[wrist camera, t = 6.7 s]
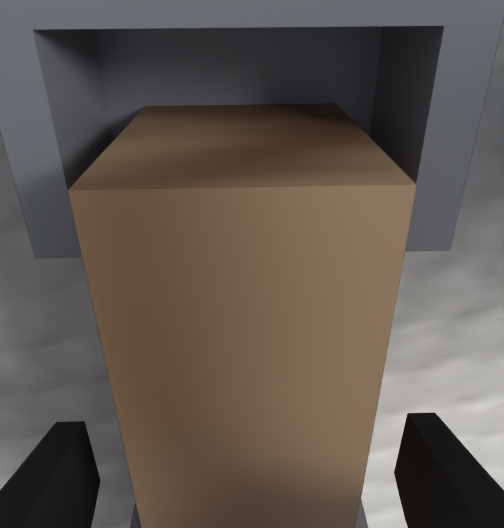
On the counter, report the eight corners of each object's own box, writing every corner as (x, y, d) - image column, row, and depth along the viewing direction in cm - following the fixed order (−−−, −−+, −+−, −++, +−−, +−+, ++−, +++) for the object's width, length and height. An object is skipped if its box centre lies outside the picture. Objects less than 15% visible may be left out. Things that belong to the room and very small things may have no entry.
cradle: (433, -40, 9) (538, -64, 6) (343, 528, 18) (365, 636, 15) (40, -38, 9) (-69, -61, 6) (153, 533, 18) (135, 644, 15)
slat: (336, 102, 10) (416, 185, 5) (304, 506, 17) (327, 686, 12) (145, 105, 10) (67, 190, 5) (193, 509, 16) (177, 691, 12)
